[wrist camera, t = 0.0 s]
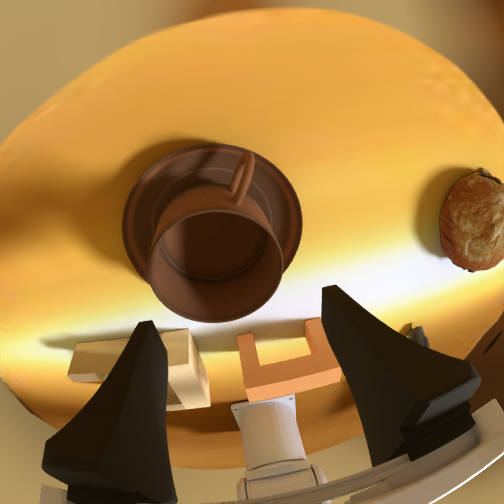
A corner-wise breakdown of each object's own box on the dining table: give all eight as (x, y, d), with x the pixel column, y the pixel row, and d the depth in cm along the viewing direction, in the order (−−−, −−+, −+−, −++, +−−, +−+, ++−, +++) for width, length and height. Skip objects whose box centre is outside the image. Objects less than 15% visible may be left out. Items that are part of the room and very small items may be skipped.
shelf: (208, 374, 30) (211, 418, 25) (108, 385, 29) (102, 424, 25) (188, 328, 26) (188, 377, 21) (76, 343, 25) (64, 386, 21)
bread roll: (478, 170, 26) (528, 163, 18) (488, 257, 27) (537, 267, 19) (418, 178, 25) (471, 169, 18) (431, 279, 27) (483, 297, 19)
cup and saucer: (118, 145, 17) (84, 173, 12) (301, 138, 19) (339, 162, 14) (142, 293, 23) (131, 351, 18) (287, 285, 25) (308, 338, 20)
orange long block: (319, 333, 29) (339, 381, 24) (240, 351, 28) (249, 402, 23) (320, 317, 28) (342, 366, 22) (236, 335, 27) (245, 389, 22)
